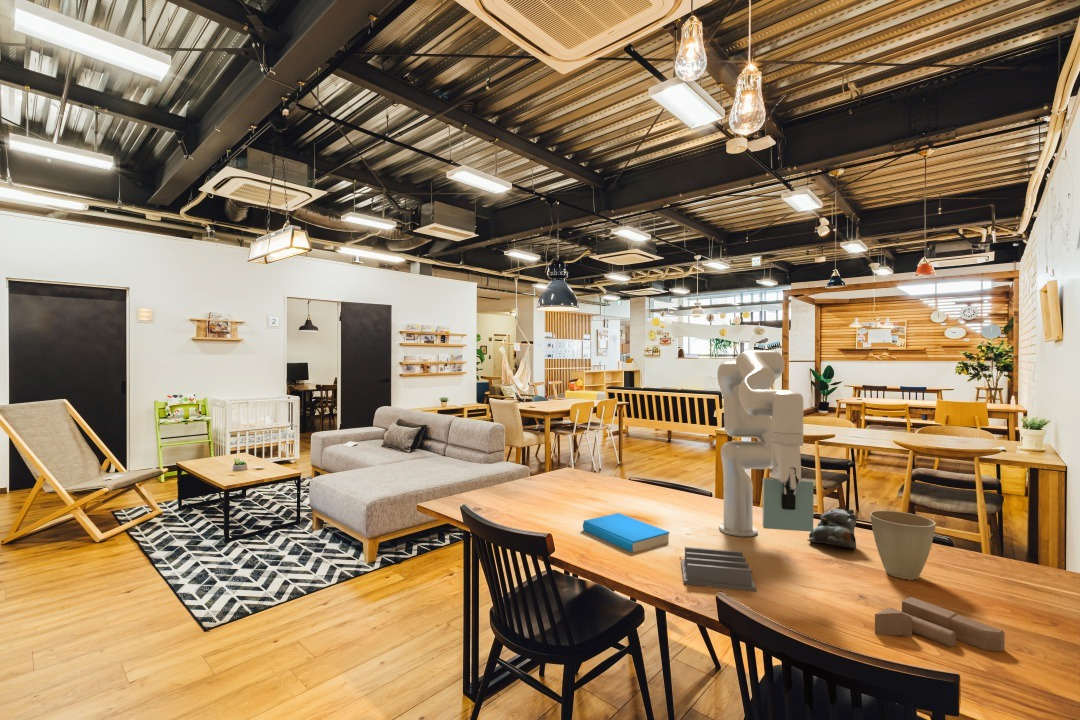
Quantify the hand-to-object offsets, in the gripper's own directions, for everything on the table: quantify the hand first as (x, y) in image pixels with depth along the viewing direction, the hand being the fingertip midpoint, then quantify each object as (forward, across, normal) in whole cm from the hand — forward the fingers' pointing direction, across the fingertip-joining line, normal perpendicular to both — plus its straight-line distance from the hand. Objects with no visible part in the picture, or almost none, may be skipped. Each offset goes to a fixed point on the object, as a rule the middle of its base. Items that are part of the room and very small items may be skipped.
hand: (787, 507), depth 132 cm
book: (+22, -30, -44) cm, 57 cm away
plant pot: (+21, -15, +34) cm, 42 cm away
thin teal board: (+6, 0, 0) cm, 6 cm away
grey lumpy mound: (+21, -36, +23) cm, 47 cm away
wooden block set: (+21, +21, +24) cm, 38 cm away
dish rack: (+21, -3, -18) cm, 27 cm away
